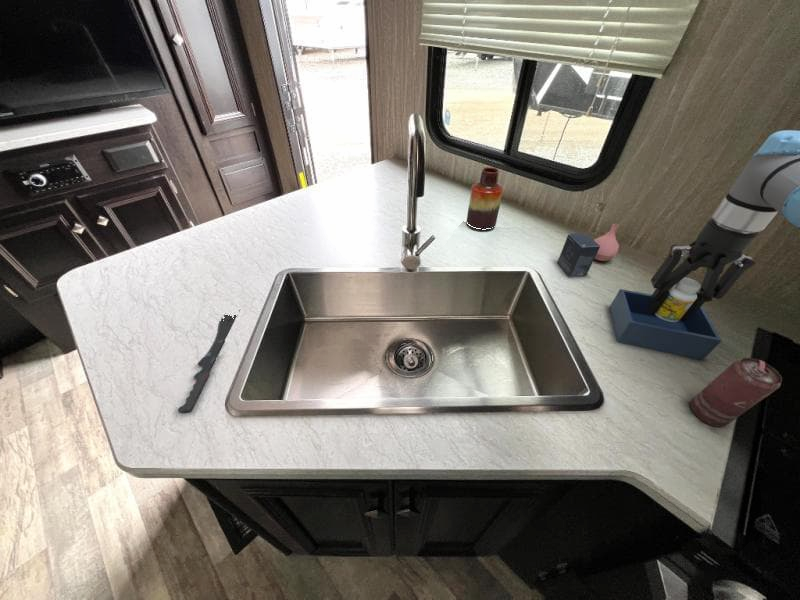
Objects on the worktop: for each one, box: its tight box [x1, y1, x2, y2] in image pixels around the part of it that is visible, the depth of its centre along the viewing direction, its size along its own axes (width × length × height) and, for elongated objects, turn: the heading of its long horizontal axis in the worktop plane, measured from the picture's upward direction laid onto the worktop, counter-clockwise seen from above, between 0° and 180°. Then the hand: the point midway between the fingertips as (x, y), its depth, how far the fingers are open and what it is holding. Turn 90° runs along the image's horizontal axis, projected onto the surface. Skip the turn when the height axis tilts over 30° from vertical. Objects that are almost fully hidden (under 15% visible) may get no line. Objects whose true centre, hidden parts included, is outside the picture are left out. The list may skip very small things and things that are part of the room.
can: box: [690, 357, 783, 427], centre depth 58 cm, size 6×6×14 cm
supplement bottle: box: [655, 277, 702, 322], centre depth 71 cm, size 5×5×10 cm
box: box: [557, 232, 600, 278], centre depth 95 cm, size 8×6×11 cm
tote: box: [608, 288, 723, 361], centre depth 76 cm, size 18×13×7 cm
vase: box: [465, 166, 504, 233], centre depth 113 cm, size 11×11×20 cm
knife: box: [177, 309, 241, 413], centre depth 74 cm, size 32×4×1 cm, turn 2°
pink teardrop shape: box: [593, 223, 620, 262], centre depth 99 cm, size 8×8×12 cm
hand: (665, 313), depth 74 cm, fingers closed on supplement bottle, 5 cm apart
